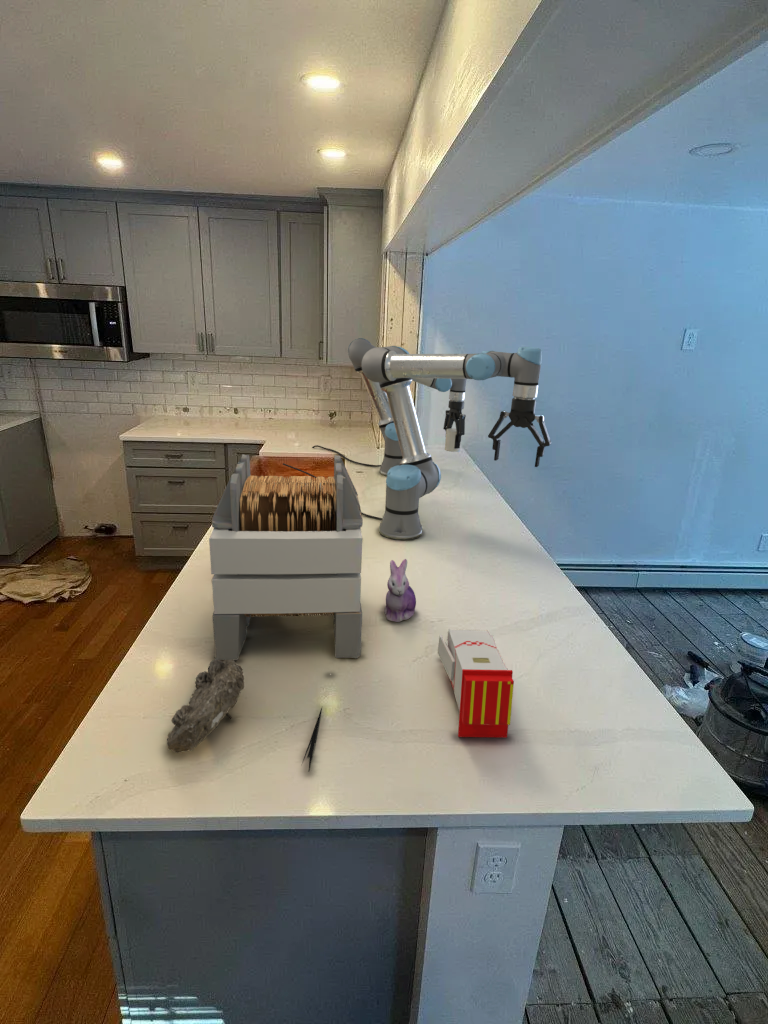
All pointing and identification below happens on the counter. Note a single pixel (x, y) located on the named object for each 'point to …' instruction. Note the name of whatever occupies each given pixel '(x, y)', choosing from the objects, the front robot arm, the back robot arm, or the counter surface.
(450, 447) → the canister
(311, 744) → the feather
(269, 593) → the grey record crate stand
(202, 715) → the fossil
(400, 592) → the figurine
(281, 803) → the counter surface
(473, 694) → the toy
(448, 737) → the counter surface
